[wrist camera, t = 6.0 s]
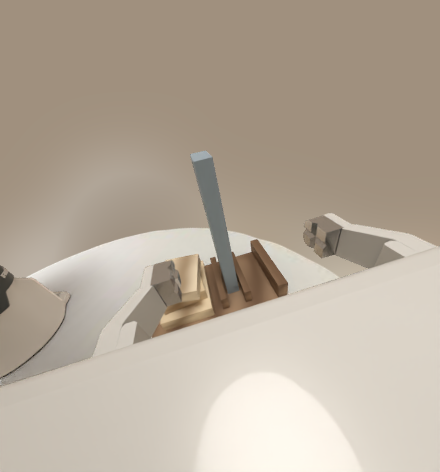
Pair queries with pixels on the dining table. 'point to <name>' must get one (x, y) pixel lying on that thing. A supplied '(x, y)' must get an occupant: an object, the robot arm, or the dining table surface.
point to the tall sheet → (215, 216)
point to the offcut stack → (189, 294)
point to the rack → (241, 284)
